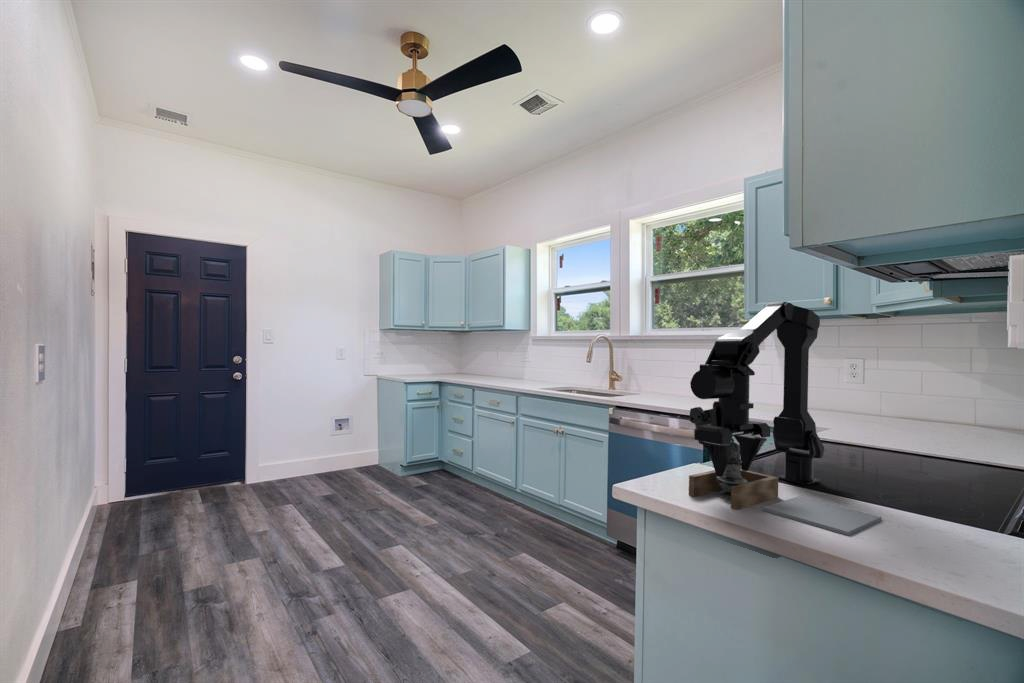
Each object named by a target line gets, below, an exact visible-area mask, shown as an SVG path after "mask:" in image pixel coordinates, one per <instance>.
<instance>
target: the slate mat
mask: <svg viewBox="0 0 1024 683" xmlns="http://www.w3.org/2000/svg"><path fill="white" fill-rule="evenodd" d="M763 511H764V512H768V513H770V514H773V515H777V516H780V517H784V518H788V519H791V520H794V521H798V522H801V523H805V524H808V525H811V526H814V527H817V528H821V529H825V530H828V531H831V532H835V533H837V534H838V533H839V534H843V535H845V536H850V535H853V534H854V533H856V532H859V531H861V530H863V529H866V528H868V527H869V526H872V525H874V524H876V523H878V522H880V521H881V520H882V519H883V518H882V516H881V515H877V514H872V513H869V512H865V511H861V510H857V509H852V508H849V507H845V506H840V505H837V504H833V503H829V502H825V501H821V500H819V499H818V500H817V499H813V498H809V497H805V496H802V495H798V496H795V497H791V498H789V499H788V498H787V499H784V500H781V501H779V502H778V501H777V502H775V503H772V504H769V505H765V506H763V507H762V512H763Z"/></svg>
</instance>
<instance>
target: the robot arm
mask: <svg viewBox="0 0 1024 683" xmlns="http://www.w3.org/2000/svg"><path fill="white" fill-rule="evenodd" d="M820 320H821V319H820V316H819V315H818V314H817V313H815V312H814V311H813V310H812V309H808V308H804V307H802V306H797V305H794V304H792V303H791V302H788V301H776V302H775V301H774V302H773V301H772V302H769V303H766V304H764V306H763V309H761V311H759V312H758V313H757V314H756V315H754V316H753V317H752V318H751V319H750V320H749V321H748V322H747V323H746V324H745V325H743V326H742V327H741V328H740V329H738V330H735V331H731V332H728V333H725V334H724V335H722V336H720V337H717V339H716V340H715V342H714V345H713V346H712V349H711V351H710V353H709V355H708V357H707V359H706V361H705V363H704V364H700V365H699V370H698V371H695V373H694V374H693V376H692V377H691V380H690V383H689V384H690V389H691V392H692V394H693V395H694V396H695V397H696V398H697V399H700V400H712V399H713V400H714V399H718V401H715V400H714V401H713V403H712V408H710V409H705V410H704V409H703V408H702V407H701V406H697V407H692V408H690V411H689V418H688V419H689V422H690V423H691V424H694V426H695V429H694V430H693V439H694V440H695V441H697V442H698V443H699V444H700V445H702V446H703V447H704V448H705V449H706V450H707V452H708V454H709V458H710V459H711V462H712V466H713V468H714V469H713V470H715V472H716V475H717V476H719V477H722V476H723V474H724V471H725V468H726V465H727V462H728V459H729V455H730V452H731V449H732V446H733V445H732V444H728V443H730V442H732V441H731V440H732V438H734V440H736V442H737V444H738V445H739V446H740V460H741V461H742V463H740V468H741V469H742V470H743V471H749V470H750V468H751V465H752V464H753V462H754V460H755V459H756V457H757V455H758V453H759V451H760V450H761V448H762V447H763V445H764V444H765V442H767V440H768V439H767V438H770V437H771V427H770V426H769V425H768V423H767V422H763V421H761V422H760V421H755V420H750V410H751V409H754V403H753V402H750V376H752V377H753V376H755V375H756V372H755V371H754V370H753V369H752V368H751V367H750V365H751V364H753V362H754V361H755V360H756V358H757V357H758V356H759V353H760V345H761V344H762V343H763V342H764V341H765V340H767V338H768V337H769V336H771V334H772V333H773V332H775V330H776V337H777V339H778V340H779V341H780V343H781V345H782V346H783V350H784V356H783V358H784V360H783V400H782V401H783V402H782V403H783V404H782V407H783V408H782V410H781V412H780V413H779V414H778V416H775V417H773V421H772V422H773V430H772V437H773V443H774V444H773V445H774V447H775V449H774V450H775V452H778V453H784V474H782V475H778V476H777V477H778V480H779V479H780V480H783V481H788V482H791V483H792V482H793V483H796V484H801V485H806V486H809V485H812V484H815V483H819V482H820V479H819V478H816V477H814V459H822V458H823V457H824V453H825V446H824V444H823V442H822V441H821V439H820V436H818V434H817V427H816V421H814V419H813V417H812V416H811V414H810V412H809V410H808V405H809V402H808V401H809V399H808V398H809V394H808V393H809V358H810V357H809V355H810V354H809V352H810V348H811V346H812V345H813V344H814V343H815V340H816V339H817V338H818V335H819V334H818V332H819V329H820V325H821V324H820V323H821V321H820Z"/></svg>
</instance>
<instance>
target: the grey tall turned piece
mask: <svg viewBox="0 0 1024 683" xmlns="http://www.w3.org/2000/svg"><path fill="white" fill-rule="evenodd" d="M728 444H732V445H733V446H732V449H731V452H730V455H729V459H728V462H727V465H726V468H725V471H724V474H723V476H722V477H719V476H717V479H718V483H719V486H720V487H721V488H722V490H721V491H720V492H718V493H717V497H720V498H721V499H724V500H728V501H731V487H732V486H736V485H740V484H744V483H748V481H747V480H746V479H744V478H743V477H742V476H741V473H740V469H741V463H742V461H741V459H740V445H739V443H736V442H735V438H734V437H732V440H731V442H730V443H728Z"/></svg>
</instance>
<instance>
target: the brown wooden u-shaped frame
mask: <svg viewBox="0 0 1024 683" xmlns="http://www.w3.org/2000/svg"><path fill="white" fill-rule="evenodd" d="M740 473H741V476H742V477H743V478H744V479H746V480H747V481H748V483H744V484H740V485H736V486H732V487H731V500H730V508H731V509H733V510H737V511H738V510H741V509H743V508H748V507H751V506H754V505H758V504H760V503H764V502H767V501H770V499H771V500H774V499H776V497H777V498H779V478H778V476H773V475H768V474H764V473H761V472H760V473H759V472H756V471H751V470H748V471H743V470H742V468H740ZM721 489H722V488H721V487H720V486H719V483H718V479H717V475H716V472H715V469H713V470H710V471H704V472H700V473H695V474H691V475H688V496H690V495H691V497H697V496H702V495H705V494H709V492H710V493H713V492H717V490H718V491H722V490H721ZM773 498H774V499H773Z"/></svg>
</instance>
